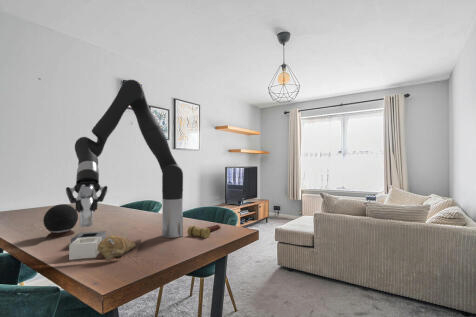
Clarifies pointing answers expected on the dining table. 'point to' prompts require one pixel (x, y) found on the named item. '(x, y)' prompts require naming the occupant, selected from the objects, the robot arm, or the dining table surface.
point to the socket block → (90, 235)
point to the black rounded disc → (60, 221)
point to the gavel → (202, 231)
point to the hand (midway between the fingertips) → (86, 210)
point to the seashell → (114, 246)
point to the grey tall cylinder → (86, 206)
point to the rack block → (84, 248)
